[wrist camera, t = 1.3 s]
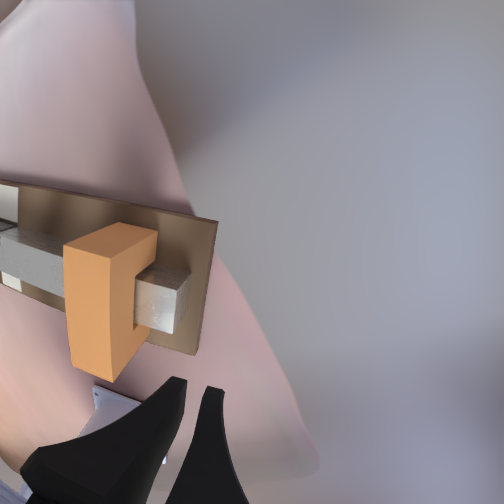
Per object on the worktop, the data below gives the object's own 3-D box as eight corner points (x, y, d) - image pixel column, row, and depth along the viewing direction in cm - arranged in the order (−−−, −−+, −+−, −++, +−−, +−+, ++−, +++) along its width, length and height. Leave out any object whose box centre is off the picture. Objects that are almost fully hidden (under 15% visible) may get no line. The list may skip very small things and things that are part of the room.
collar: (158, 231, 19) (110, 258, 14) (149, 334, 22) (112, 382, 16) (118, 222, 19) (63, 244, 14) (114, 322, 22) (72, 365, 16)
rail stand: (218, 221, 20) (202, 235, 16) (198, 348, 23) (183, 381, 19) (-21, 176, 21) (-50, 181, 17) (-18, 267, 24) (-43, 279, 20)
